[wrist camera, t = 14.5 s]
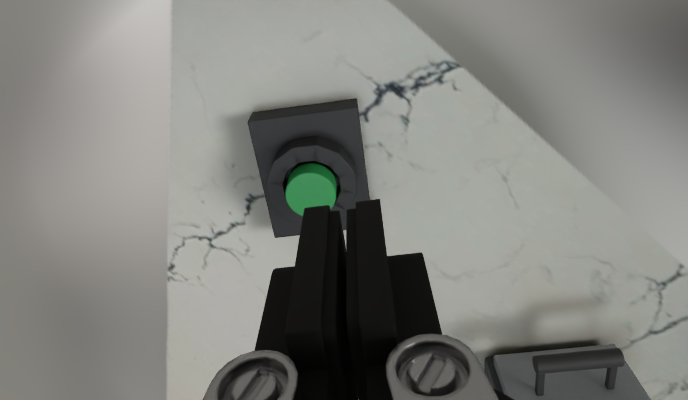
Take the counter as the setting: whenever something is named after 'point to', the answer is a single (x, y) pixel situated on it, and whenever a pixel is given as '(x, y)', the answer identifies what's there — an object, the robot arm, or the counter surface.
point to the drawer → (569, 375)
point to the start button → (310, 187)
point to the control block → (309, 155)
